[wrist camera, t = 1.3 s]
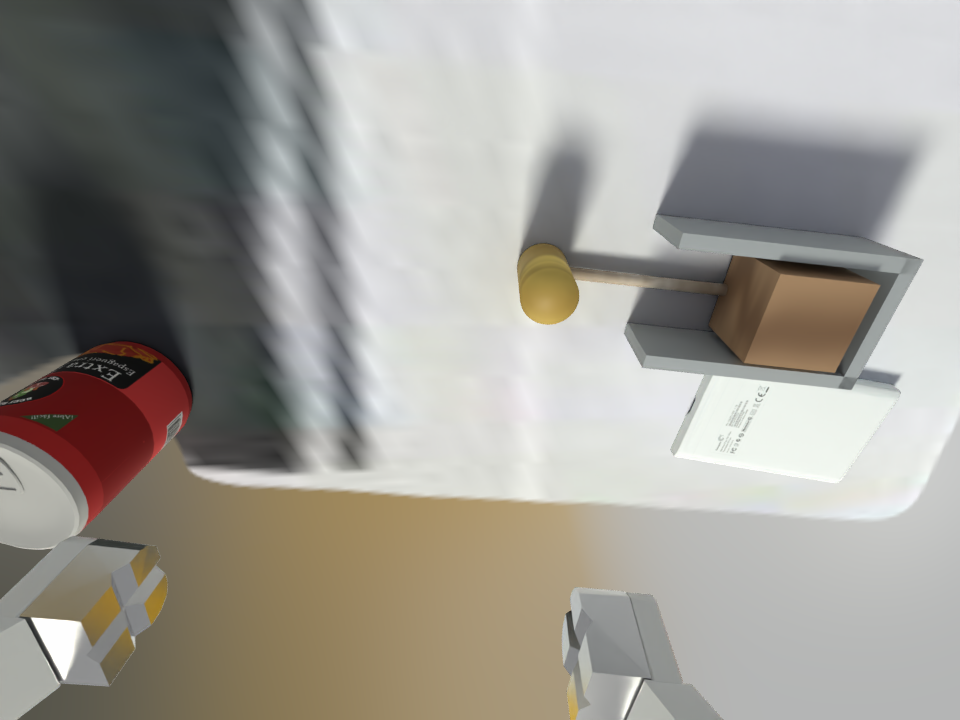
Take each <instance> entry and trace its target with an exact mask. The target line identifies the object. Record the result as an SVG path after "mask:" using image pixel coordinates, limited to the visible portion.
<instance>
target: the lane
mask: <svg viewBox="0 0 960 720" xmlns="http://www.w3.org/2000/svg"><path fill="white" fill-rule="evenodd" d="M653 229H654V230H655V231H657V232H658V233H659V234H660V235H662V236H663V237H664V238H665V239H666V240H668V241H669V242H670V243H671V244H673V245H674V246H675V247H676V248H677V249H682V250H691V251H700V252H709V253H718V254H727V255H736V256H745V257H754V258H763V259H772V260H781V261H790V262H799V263H808V264H817V265H826V266H835V267H844V268H846V269H848V270H850V271H852V272H854V273H856V274H858V275H860V276H862V277H865V278H867V279H869V280H871V281H873V282H875V283H877V284H879V285H881V286H880V287H879V289H878V291H877V293H876V295H875V297H874V299H873V301H872V303H871V305H870V307H869V308H868V310H867V312H866V314H865V316H864V318H863V320H862V322H861V324H860V326H859V328H858V329H857V331H856V333H855V335H854V337H853V339H852V341H851V343H850V345H849V347H848V349H847V350H846V352H845V354H844V356H843V358H842V360H841V362H840V364H839V366H838V368H837V370H836V371H835V373H832V372H823V371H813V370H804V369H795V368H785V367H776V366H767V365H758V364H748V363H743V362H742V361H741V360H740V358H739V357H738V356H737V355H736V354H735V353H734V352H733V351H732V350H731V349H730V348H729V347H728V346H727V345H726V344H725V343H724V341H723V340H722V339H721V338H720V337H719V336H718V335H717V334H716V333H715V332H708V331H699V330H690V329H681V328H671V327H662V326H653V325H644V324H635V323H627V326H626V330H625V333H624V334H625V336H626V338H627V340H628V342H629V344H630V345H631V347H632V349H633V351H634V353H635V355H636V357H637V358H638V360H639V362H640V364H641V366H642V368H649V369H659V370H668V371H677V372H687V373H696V374H705V375H715V376H724V377H733V378H743V379H752V380H761V381H771V382H780V383H789V384H798V385H808V386H817V387H826V388H836V389H845V390H852V388H853V387H854V385H855V383H856V381H857V379H858V378H859V376H860V374H861V372H862V370H863V369H864V367H865V365H866V363H867V361H868V360H869V358H870V356H871V354H872V352H873V350H874V349H875V347H876V345H877V343H878V341H879V340H880V338H881V336H882V334H883V332H884V331H885V329H886V327H887V325H888V323H889V322H890V320H891V318H892V316H893V314H894V313H895V311H896V309H897V307H898V305H899V304H900V302H901V300H902V298H903V296H904V295H905V293H906V291H907V289H908V287H909V285H910V284H911V282H912V280H913V278H914V276H915V275H916V273H917V271H918V269H919V267H920V266H921V264H922V262H923V259H920V258H917V257H915V256H912V255H909V254H907V253H904V252H901V251H898V250H896V249H893V248H890V247H888V246H885V245H882V244H879V243H877V242H874V241H871V240H869V239H866V238H863V237H855V236H846V235H837V234H828V233H819V232H810V231H801V230H792V229H783V228H774V227H765V226H757V225H748V224H739V223H730V222H721V221H712V220H703V219H694V218H685V217H676V216H667V215H658V214H657V215H656V218H655V222H654V226H653Z"/></svg>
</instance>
